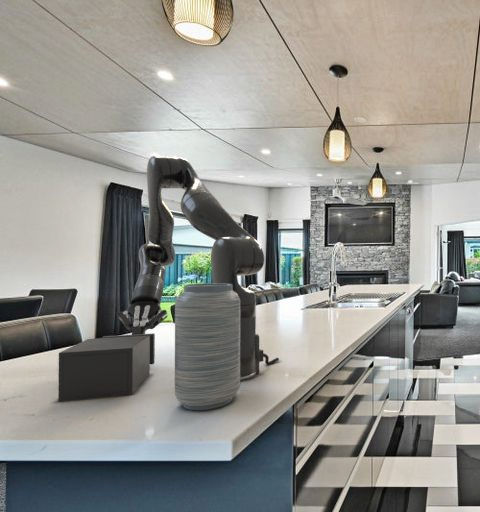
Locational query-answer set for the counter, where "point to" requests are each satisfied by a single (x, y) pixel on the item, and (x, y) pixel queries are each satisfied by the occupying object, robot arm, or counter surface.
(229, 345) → the vase
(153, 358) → the dark grey drawer
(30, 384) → the counter surface
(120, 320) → the robot arm
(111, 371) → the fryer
